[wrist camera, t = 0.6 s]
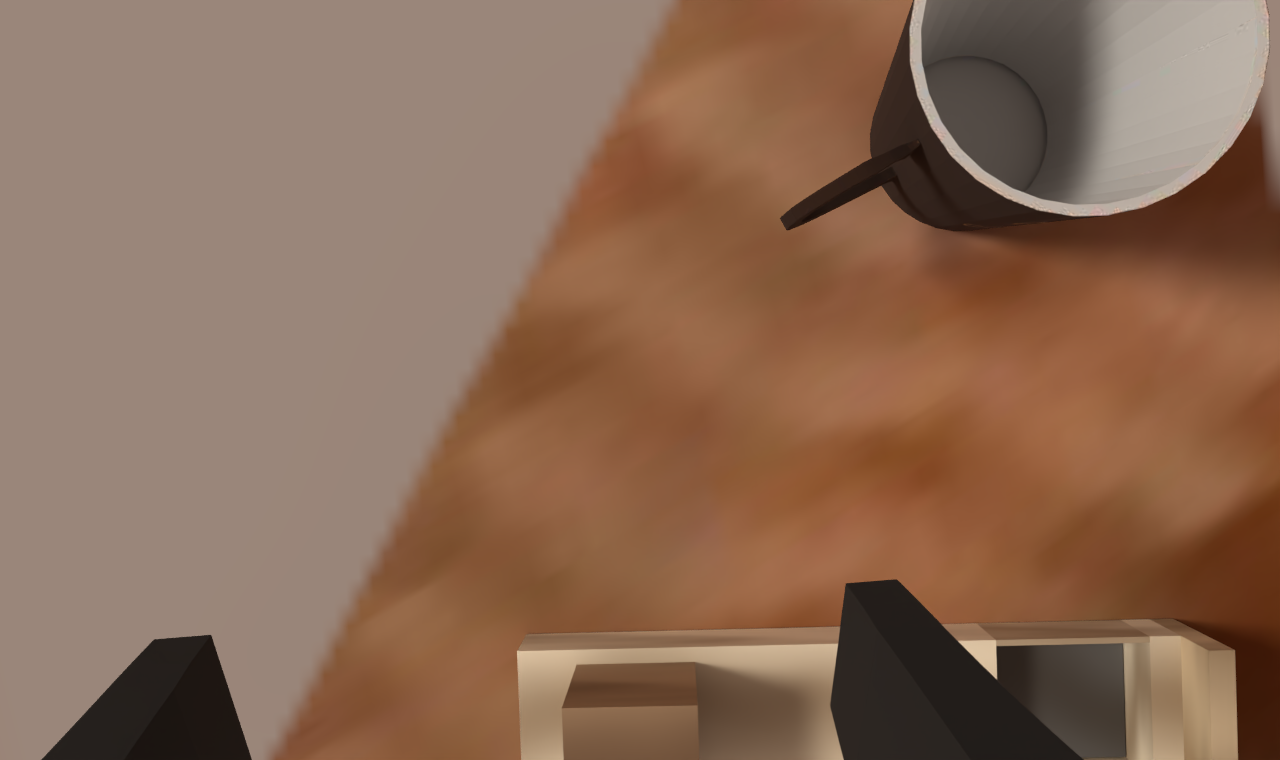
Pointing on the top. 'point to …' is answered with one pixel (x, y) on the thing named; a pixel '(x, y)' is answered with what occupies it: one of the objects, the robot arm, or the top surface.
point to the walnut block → (631, 712)
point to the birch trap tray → (1012, 652)
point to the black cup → (1054, 108)
